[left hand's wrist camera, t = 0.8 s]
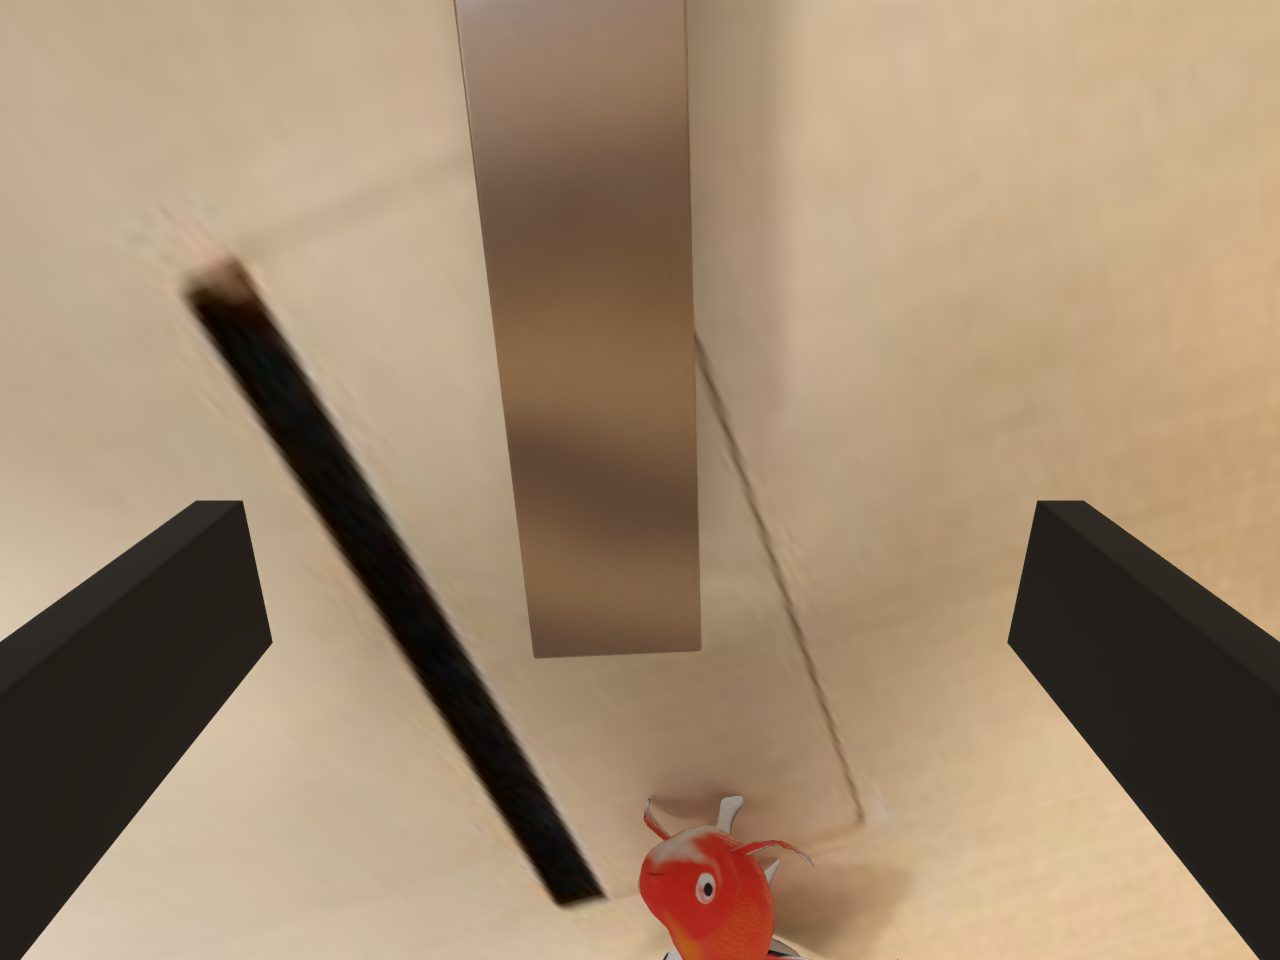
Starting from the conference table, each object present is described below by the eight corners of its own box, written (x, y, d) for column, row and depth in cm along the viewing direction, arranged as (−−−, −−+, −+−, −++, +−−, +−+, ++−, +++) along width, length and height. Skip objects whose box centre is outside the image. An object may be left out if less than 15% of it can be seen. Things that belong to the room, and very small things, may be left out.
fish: (894, 766, 28) (892, 1116, 21) (901, 878, 39) (901, 1128, 33) (619, 735, 31) (551, 1027, 25) (699, 846, 42) (665, 1066, 36)
